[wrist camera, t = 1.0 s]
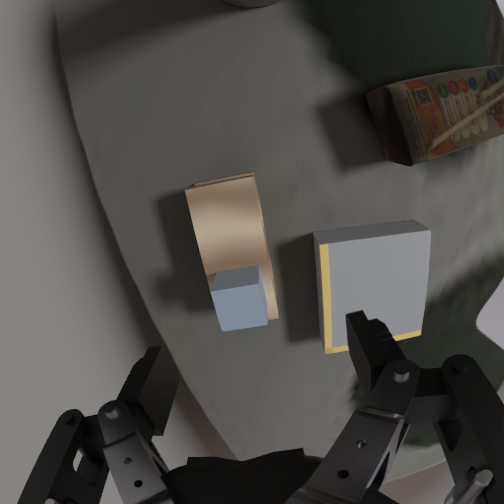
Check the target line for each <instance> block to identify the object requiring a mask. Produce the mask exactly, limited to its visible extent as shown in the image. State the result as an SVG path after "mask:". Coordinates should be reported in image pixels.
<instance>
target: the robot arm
mask: <svg viewBox="0 0 504 504" xmlns="http://www.w3.org/2000/svg"><path fill="white" fill-rule="evenodd" d="M223 1H225V2H227V3H229V4H231V5H235V6H239V7H248V8H251V7H262V6H267V5H270V4H273V3H276V2H278V1H280V0H223ZM345 318H346V329H347V342H348V349H349V353H350V356H351V359H352V362H353V364H354V367H355V370H356V373H357V375H358V378H359V381H360V384H361V386H362V389H363V392H364V395H365V398H366V400H367V401H366V403H365V405H364V407H363V408H361V407H358V408H357V409H356V410H355V411H354V413H353V414H352V416H351V418H350V419H349V421H348V423H347V424H346V426H345V427H344V429H343V431H342V432H341V434H340V435H339V437H338V438H337V440H336V441H335V443H334V444H333V446H332V447H331V449H330V450H329V452H328V453H327V455H326V456H325V458H321V457H317V456H307V455H305V454H304V450H303V448H298V449H292V450H285V451H278V452H272V453H269V454H266V455H263V456H259V457H256V458H253V459H249V460H246V461H237V460H231V459H224V458H219V457H188V460H187V465H184V466H181V467H178V468H175V469H173V470H171V471H170V470H169V469H168V467H167V465H166V464H165V462H164V460H163V459H162V457H161V455H160V453H159V452H158V450H157V448H156V447H155V445H154V443H153V442H152V441H151V439H152V436H163V433H164V430H165V427H166V424H167V420H168V417H169V414H170V411H171V407H172V404H173V401H174V397H175V394H176V391H177V388H178V384H179V374H178V370H177V368H176V366H175V364H174V361H173V360H172V357H171V355H170V353H169V351H168V349H167V347H166V346H164V345H163V346H153V347H149V348H148V349H147V351H146V354H145V355H144V357H143V358H141V359H140V360H139V361H138V362H136V364H134V366H133V367H132V369H131V372H130V374H129V375H128V377H127V380H126V381H125V383H124V385H123V387H122V389H121V391H120V393H119V395H118V397H117V399H116V400H112V401H109V402H108V403H105V404H104V405H103V406H102V407H101V408H100V409H99V411H98V414H96V415H92V416H87V417H84V415H83V414H82V413H81V411H79V410H77V409H71V410H68V411H66V412H64V413H63V414H62V415H61V416H60V417H59V419H58V420H57V422H56V424H55V426H54V428H53V430H52V432H51V434H50V436H49V438H48V439H47V441H46V444H45V445H44V447H43V449H42V451H41V453H40V455H39V457H38V459H37V461H36V464H35V465H34V468H33V470H32V472H31V474H30V476H29V478H28V480H27V483H26V485H25V487H24V489H23V491H22V494H21V496H20V498H19V501H18V503H17V504H99V502H100V499H101V496H102V492H103V489H104V486H105V483H106V479H107V476H108V473H109V470H110V471H111V474H112V476H113V479H114V482H115V484H116V486H117V489H118V491H119V494H120V496H121V498H122V501H123V503H124V504H399V503H397V502H396V501H394V500H392V499H391V498H389V497H387V496H386V495H384V494H382V493H381V492H380V490H381V488H382V487H383V485H384V483H385V481H386V479H387V477H388V475H389V473H390V470H391V468H392V465H393V463H394V460H395V458H396V456H397V454H398V452H399V449H400V447H401V445H402V443H403V441H404V438H405V436H406V434H407V431H408V429H409V426H410V424H418V423H431V422H432V423H433V426H434V428H435V431H436V433H437V436H438V438H439V441H440V444H441V446H442V449H443V452H444V454H445V457H446V460H447V462H448V465H449V468H450V471H451V474H452V477H453V480H454V483H455V485H454V487H453V488H452V489H451V491H450V492H449V494H448V495H447V497H446V499H445V501H444V504H504V404H503V402H502V401H501V399H500V398H499V396H498V394H497V393H496V391H495V390H494V388H493V386H492V385H491V383H490V382H489V380H488V379H487V377H486V376H485V374H484V373H483V371H482V370H481V368H480V367H479V365H478V364H477V362H476V361H475V360H474V359H473V358H471V357H470V356H467V355H462V354H458V355H453V356H451V357H449V358H447V359H446V360H445V361H444V363H443V366H442V367H441V368H430V369H423V368H419V366H418V365H417V364H416V363H415V362H413V361H410V360H407V359H406V357H405V356H404V354H403V352H402V351H401V349H400V347H399V346H398V344H397V342H396V341H395V339H394V338H393V336H392V334H391V332H390V331H389V329H388V328H387V326H386V324H385V323H383V322H382V321H380V320H379V319H377V318H375V319H371V320H368V318H367V317H366V315H365V313H364V311H363V310H360V311H355V312H351V313H347V314H346V315H345ZM78 450H79V451H80V452H81V454H83V456H82V458H81V461H80V464H79V466H78V469H77V471H75V470H74V467H73V461H74V458H75V456H76V453H77V451H78Z"/></svg>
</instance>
